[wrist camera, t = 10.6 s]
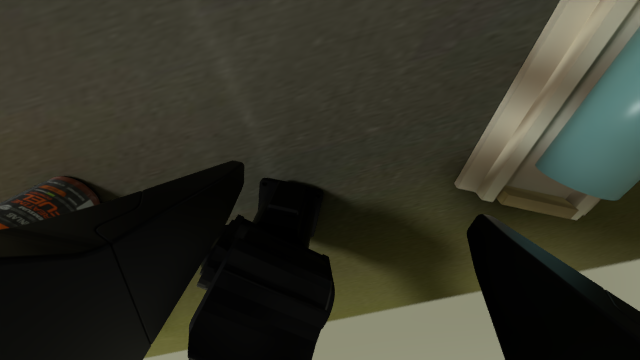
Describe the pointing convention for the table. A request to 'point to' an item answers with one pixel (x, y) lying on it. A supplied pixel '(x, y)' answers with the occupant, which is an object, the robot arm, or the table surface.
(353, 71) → the table surface
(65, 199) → the supplement bottle
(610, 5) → the wooden tray
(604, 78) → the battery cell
